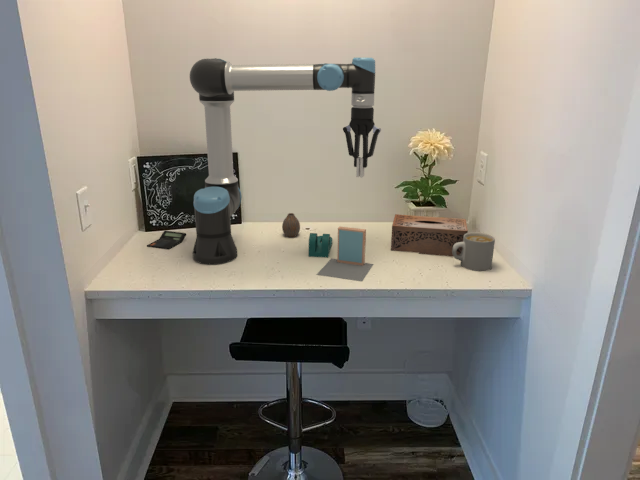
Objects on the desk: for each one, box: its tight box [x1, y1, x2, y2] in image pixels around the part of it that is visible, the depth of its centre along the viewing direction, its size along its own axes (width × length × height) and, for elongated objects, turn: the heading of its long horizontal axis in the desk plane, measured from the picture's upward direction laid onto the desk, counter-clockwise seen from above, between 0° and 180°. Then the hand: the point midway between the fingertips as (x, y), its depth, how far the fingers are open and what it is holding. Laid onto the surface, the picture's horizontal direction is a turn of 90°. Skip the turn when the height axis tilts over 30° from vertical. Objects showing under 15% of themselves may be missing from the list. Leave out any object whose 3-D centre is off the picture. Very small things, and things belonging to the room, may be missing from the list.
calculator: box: [146, 230, 187, 251], centre depth 187 cm, size 9×12×3 cm
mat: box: [316, 257, 375, 282], centre depth 164 cm, size 15×15×1 cm
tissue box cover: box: [390, 213, 469, 258], centre depth 183 cm, size 26×14×10 cm, turn 78°
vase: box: [281, 212, 301, 238], centre depth 195 cm, size 7×7×9 cm
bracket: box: [308, 232, 333, 258], centre depth 181 cm, size 18×7×8 cm, turn 173°
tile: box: [336, 226, 367, 265], centre depth 167 cm, size 9×2×12 cm, turn 71°
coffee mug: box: [452, 231, 496, 272], centre depth 167 cm, size 13×10×10 cm
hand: (360, 176), depth 175 cm, fingers closed
